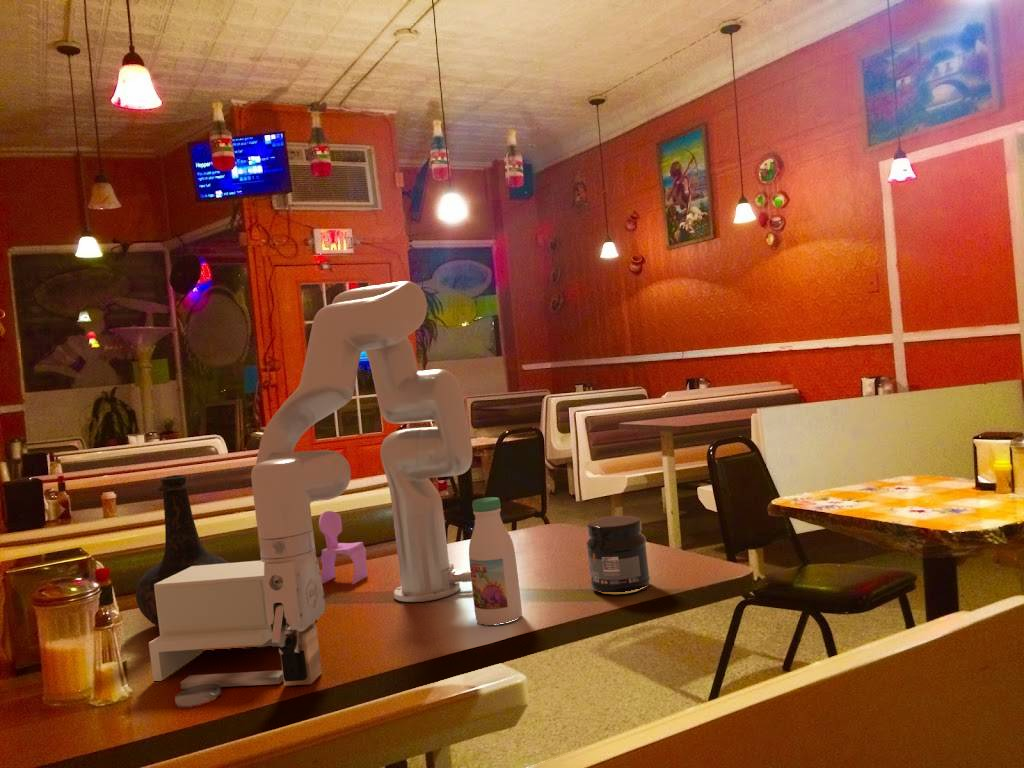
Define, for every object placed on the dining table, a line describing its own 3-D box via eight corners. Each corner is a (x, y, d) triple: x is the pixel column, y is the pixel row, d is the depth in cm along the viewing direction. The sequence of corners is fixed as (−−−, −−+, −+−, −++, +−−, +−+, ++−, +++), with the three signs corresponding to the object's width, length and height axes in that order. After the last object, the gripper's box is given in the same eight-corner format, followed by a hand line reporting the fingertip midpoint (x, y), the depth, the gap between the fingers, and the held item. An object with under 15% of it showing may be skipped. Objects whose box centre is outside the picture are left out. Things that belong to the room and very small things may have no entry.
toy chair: (353, 585, 166) (344, 514, 166) (316, 586, 169) (308, 516, 169) (372, 574, 174) (364, 506, 174) (336, 575, 177) (329, 508, 177)
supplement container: (635, 576, 149) (628, 512, 149) (661, 589, 139) (653, 521, 139) (582, 586, 146) (575, 521, 146) (604, 601, 136) (597, 530, 136)
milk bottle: (500, 609, 138) (487, 494, 137) (532, 615, 132) (518, 495, 132) (466, 622, 132) (452, 502, 132) (498, 629, 127) (484, 504, 127)
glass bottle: (229, 602, 164) (212, 466, 164) (251, 619, 149) (234, 470, 149) (134, 625, 155) (116, 481, 154) (148, 646, 139) (128, 486, 139)
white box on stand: (303, 641, 132) (293, 557, 132) (266, 675, 118) (254, 581, 118) (201, 648, 134) (192, 566, 134) (153, 682, 121) (142, 590, 120)
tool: (321, 673, 116) (316, 625, 116) (311, 684, 112) (305, 634, 112) (193, 680, 119) (187, 633, 118) (178, 691, 115) (172, 642, 115)
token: (228, 690, 115) (227, 682, 115) (210, 708, 109) (209, 699, 109) (187, 694, 115) (186, 685, 115) (167, 712, 109) (166, 703, 109)
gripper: (288, 558, 105) (304, 696, 105) (333, 531, 122) (347, 650, 122) (234, 563, 106) (250, 699, 106) (286, 535, 123) (301, 653, 123)
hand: (302, 672), depth 114 cm, fingers closed on tool, 4 cm apart
